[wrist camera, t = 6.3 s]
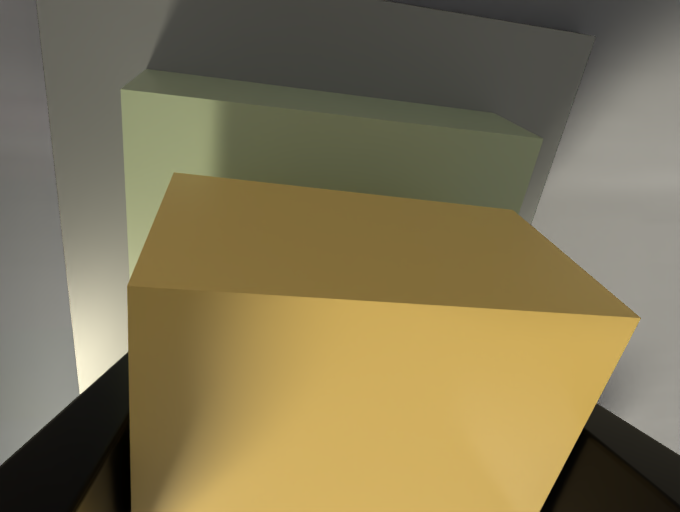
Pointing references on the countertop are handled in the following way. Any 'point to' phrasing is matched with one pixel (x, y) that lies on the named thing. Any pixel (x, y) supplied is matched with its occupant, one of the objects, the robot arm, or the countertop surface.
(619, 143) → the countertop surface
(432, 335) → the ochre brick
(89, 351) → the baseplate
